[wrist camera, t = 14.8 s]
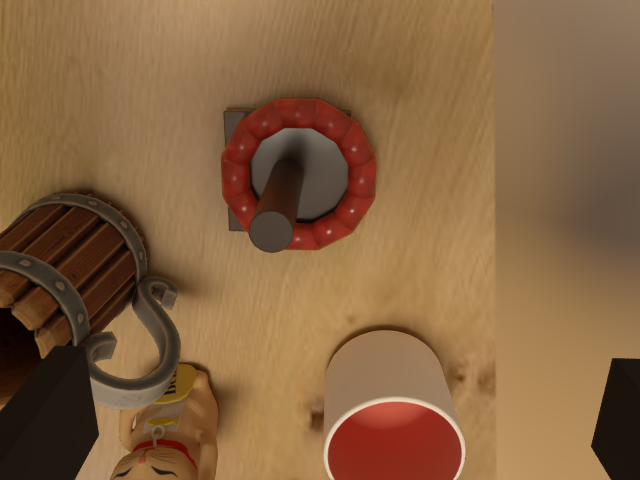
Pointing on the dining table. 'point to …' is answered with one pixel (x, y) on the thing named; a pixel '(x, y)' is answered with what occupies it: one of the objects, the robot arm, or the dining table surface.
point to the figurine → (172, 433)
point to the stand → (290, 181)
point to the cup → (389, 412)
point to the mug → (80, 295)
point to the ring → (327, 124)
